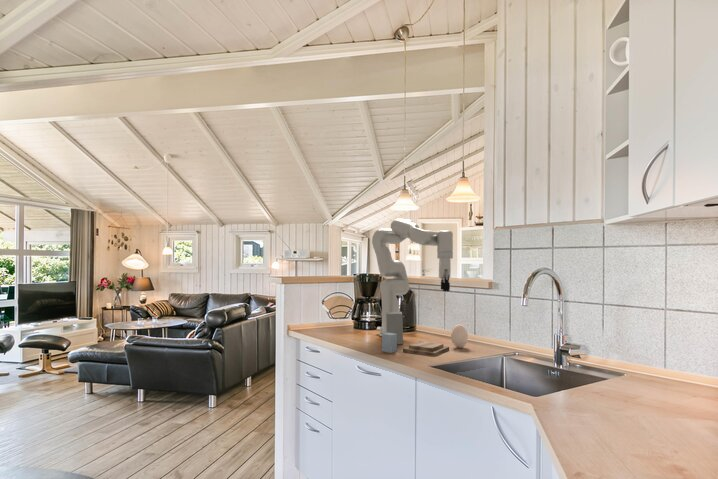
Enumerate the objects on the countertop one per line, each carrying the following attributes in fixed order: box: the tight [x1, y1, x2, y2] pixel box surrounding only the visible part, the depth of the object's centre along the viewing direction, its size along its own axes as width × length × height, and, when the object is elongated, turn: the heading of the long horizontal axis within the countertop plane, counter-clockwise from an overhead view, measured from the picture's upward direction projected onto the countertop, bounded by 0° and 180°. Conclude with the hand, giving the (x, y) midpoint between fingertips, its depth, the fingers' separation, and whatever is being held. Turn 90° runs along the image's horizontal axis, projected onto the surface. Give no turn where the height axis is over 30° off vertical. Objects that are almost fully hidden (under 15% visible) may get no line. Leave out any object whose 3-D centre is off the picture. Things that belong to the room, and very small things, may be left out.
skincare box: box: [386, 311, 404, 345], centre depth 224 cm, size 8×7×16 cm
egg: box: [450, 323, 469, 349], centre depth 214 cm, size 8×8×11 cm
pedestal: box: [402, 340, 450, 357], centre depth 206 cm, size 16×16×3 cm
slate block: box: [381, 333, 398, 354], centre depth 206 cm, size 5×5×8 cm
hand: (445, 290), depth 217 cm, fingers open, 9 cm apart
